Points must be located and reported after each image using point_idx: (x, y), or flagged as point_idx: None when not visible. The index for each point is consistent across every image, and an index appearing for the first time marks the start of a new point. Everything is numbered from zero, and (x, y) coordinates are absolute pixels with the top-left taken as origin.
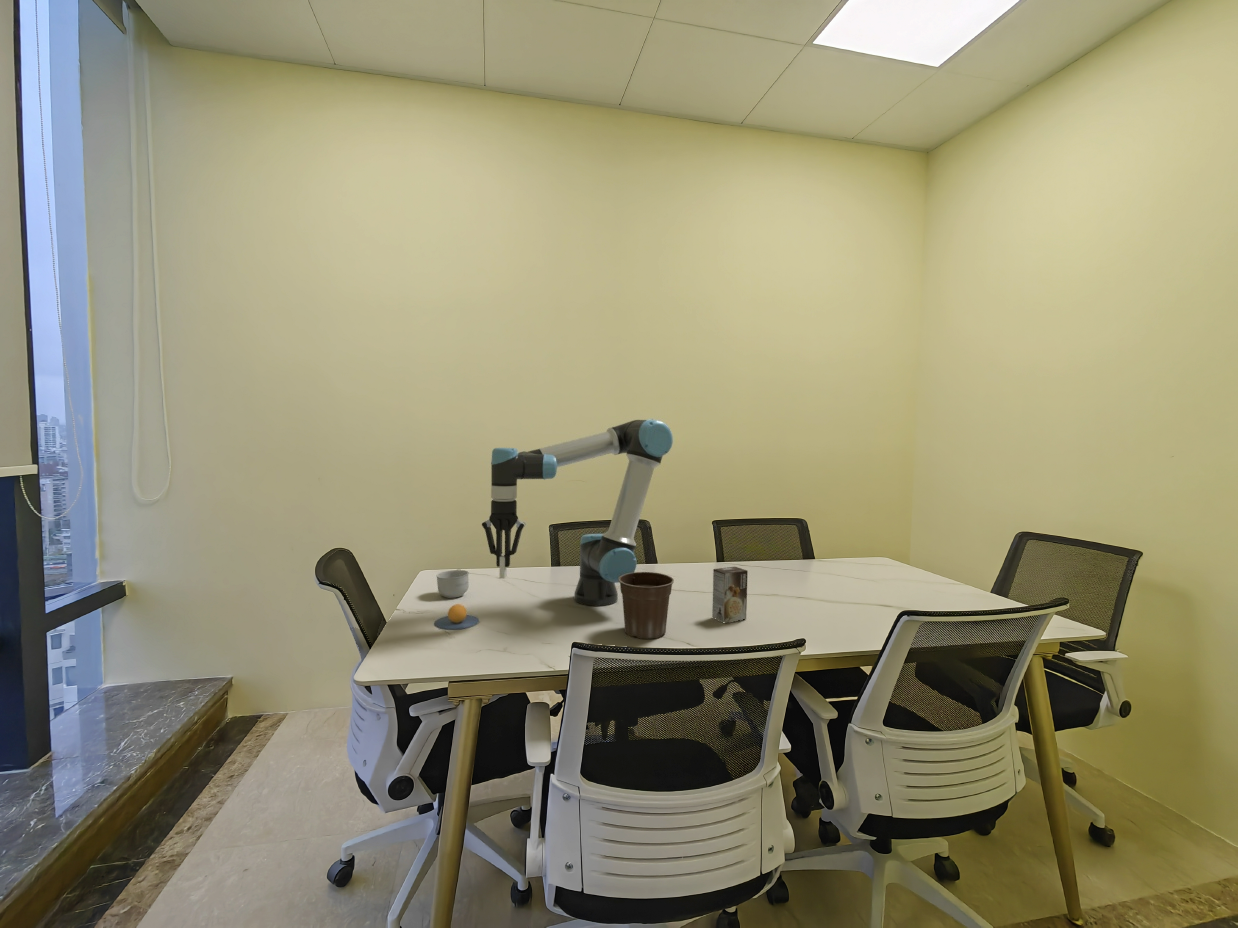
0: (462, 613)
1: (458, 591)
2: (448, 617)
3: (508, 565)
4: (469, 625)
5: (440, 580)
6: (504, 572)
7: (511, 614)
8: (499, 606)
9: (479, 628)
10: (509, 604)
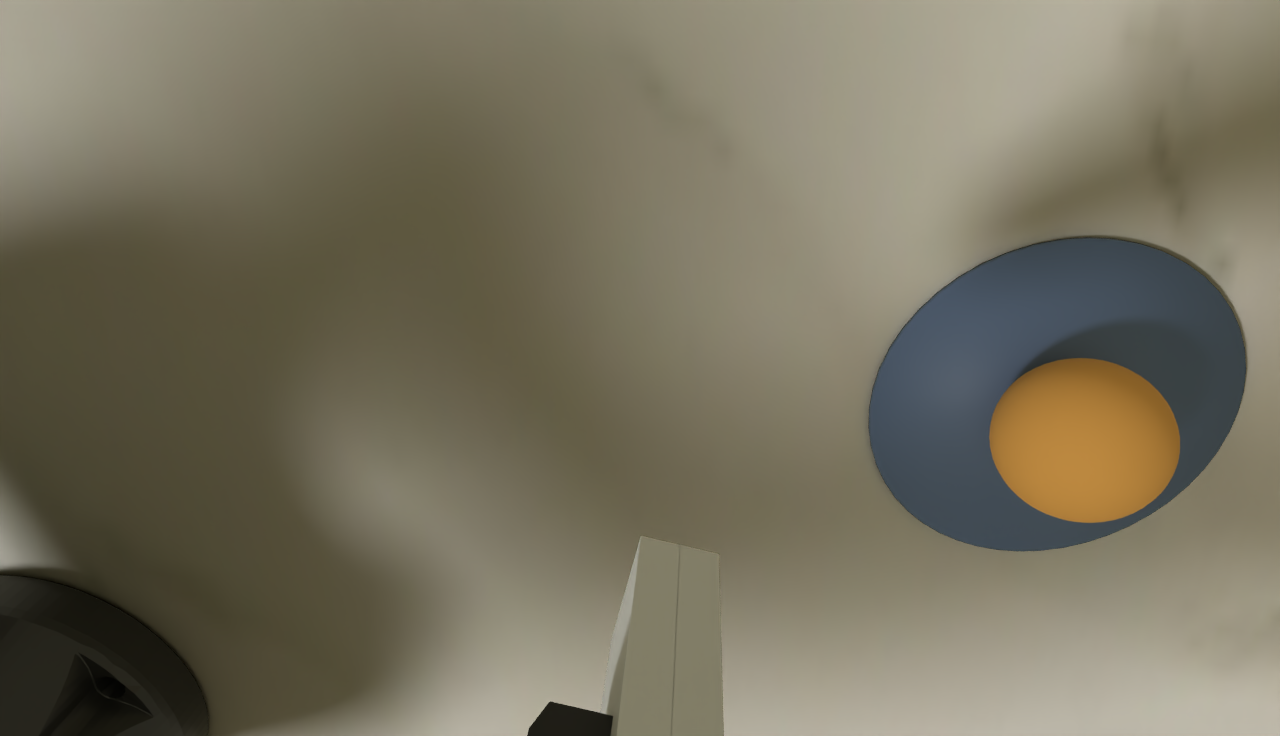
0: (1051, 390)
1: None
2: None
3: (539, 726)
4: (958, 307)
5: None
6: (632, 606)
7: (615, 507)
8: None
9: (878, 240)
10: None
